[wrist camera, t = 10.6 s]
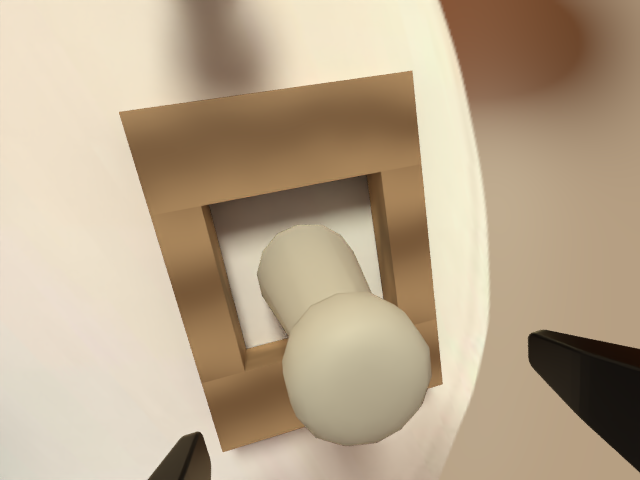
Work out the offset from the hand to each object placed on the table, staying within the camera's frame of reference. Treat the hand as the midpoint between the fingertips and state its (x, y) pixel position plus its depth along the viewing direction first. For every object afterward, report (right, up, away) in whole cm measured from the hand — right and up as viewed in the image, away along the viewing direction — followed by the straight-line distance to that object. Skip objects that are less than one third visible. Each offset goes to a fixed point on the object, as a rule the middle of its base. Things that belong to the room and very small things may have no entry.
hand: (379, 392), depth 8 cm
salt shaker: (-3, +3, +13) cm, 13 cm away
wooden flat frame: (-3, +3, +12) cm, 13 cm away
